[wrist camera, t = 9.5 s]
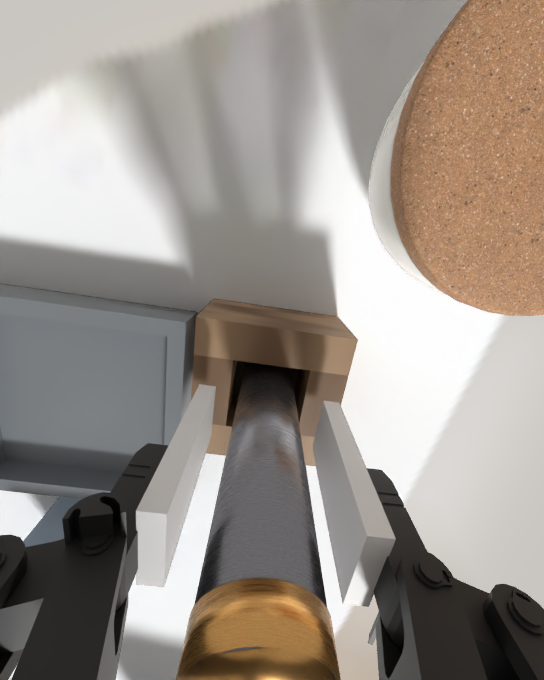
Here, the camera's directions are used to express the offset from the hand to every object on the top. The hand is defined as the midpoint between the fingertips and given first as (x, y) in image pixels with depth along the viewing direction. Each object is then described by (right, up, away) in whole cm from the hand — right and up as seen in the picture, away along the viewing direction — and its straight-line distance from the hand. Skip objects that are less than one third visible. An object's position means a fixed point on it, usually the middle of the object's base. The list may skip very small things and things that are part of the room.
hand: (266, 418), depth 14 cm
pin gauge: (0, +2, +5) cm, 5 cm away
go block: (0, +2, +6) cm, 6 cm away
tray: (-12, 0, +7) cm, 14 cm away
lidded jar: (+10, +12, +3) cm, 16 cm away
